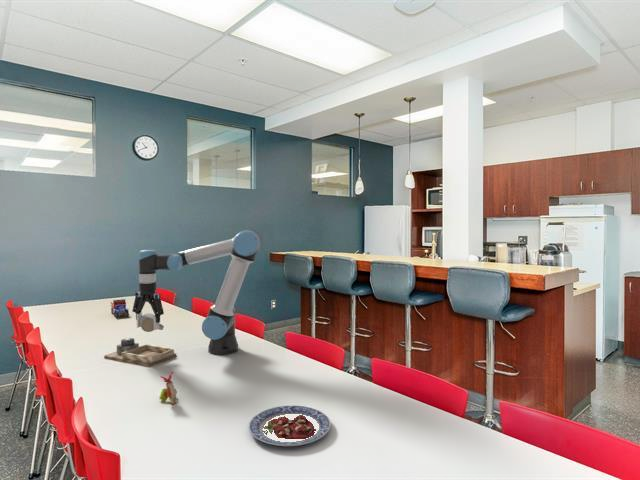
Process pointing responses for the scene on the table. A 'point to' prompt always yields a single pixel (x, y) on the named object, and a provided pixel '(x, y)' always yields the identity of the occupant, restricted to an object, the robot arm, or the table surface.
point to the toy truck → (119, 307)
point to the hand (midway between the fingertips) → (148, 328)
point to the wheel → (127, 341)
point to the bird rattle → (168, 390)
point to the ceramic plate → (289, 425)
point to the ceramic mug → (149, 322)
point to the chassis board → (141, 354)
